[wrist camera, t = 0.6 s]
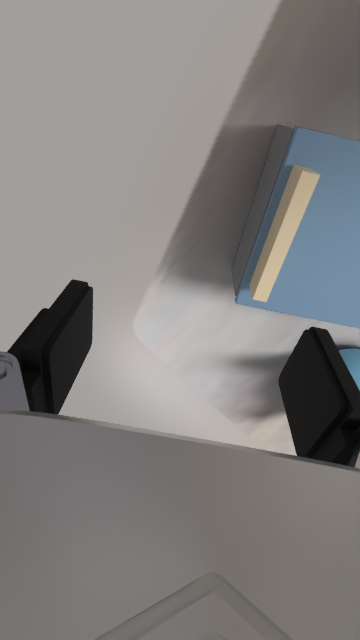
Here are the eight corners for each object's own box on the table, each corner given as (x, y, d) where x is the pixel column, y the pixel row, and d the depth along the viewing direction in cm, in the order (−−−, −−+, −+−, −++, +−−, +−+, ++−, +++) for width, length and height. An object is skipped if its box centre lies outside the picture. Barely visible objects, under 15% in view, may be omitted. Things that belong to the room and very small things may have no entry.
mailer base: (471, 169, 27) (530, 183, 22) (381, 299, 35) (409, 331, 30) (277, 124, 26) (293, 129, 21) (231, 268, 34) (235, 295, 29)
